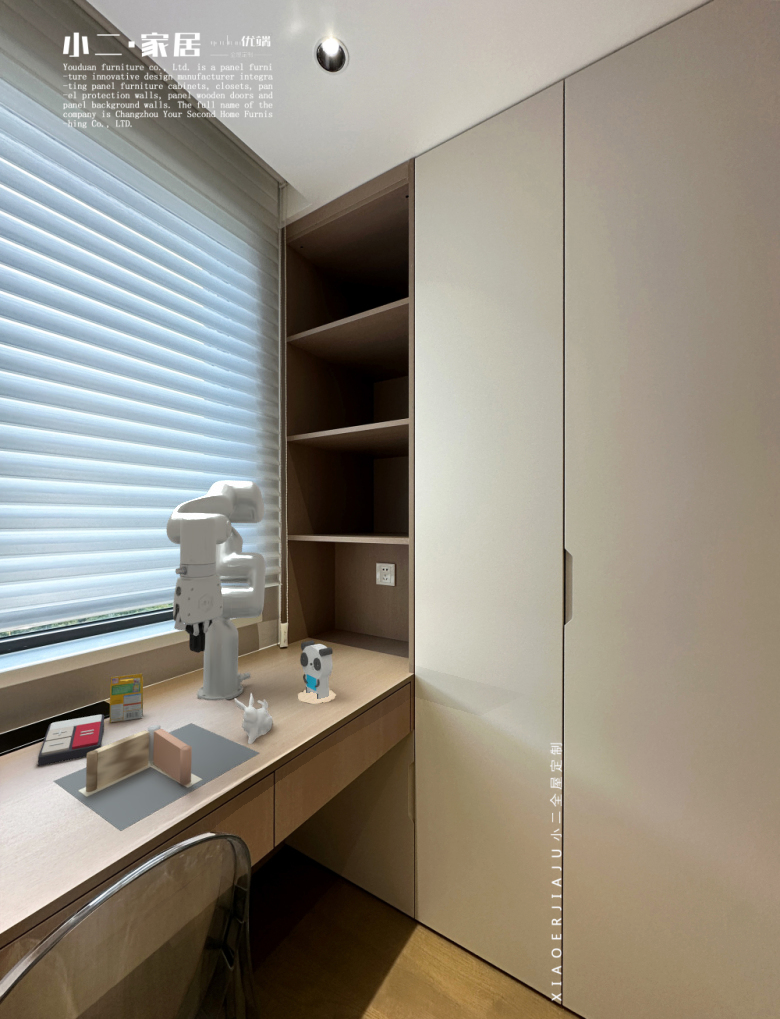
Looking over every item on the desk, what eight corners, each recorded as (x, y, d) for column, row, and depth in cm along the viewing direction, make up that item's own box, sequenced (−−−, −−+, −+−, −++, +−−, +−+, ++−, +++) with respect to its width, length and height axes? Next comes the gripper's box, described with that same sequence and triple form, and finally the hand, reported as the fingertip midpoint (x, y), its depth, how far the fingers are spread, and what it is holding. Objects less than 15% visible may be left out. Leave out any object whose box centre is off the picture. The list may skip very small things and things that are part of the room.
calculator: (37, 753, 95) (49, 720, 108) (37, 774, 95) (49, 738, 109) (100, 741, 101) (104, 711, 114) (100, 760, 101) (104, 728, 114)
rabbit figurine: (248, 750, 105) (249, 707, 105) (222, 743, 107) (222, 701, 108) (279, 728, 116) (280, 689, 116) (255, 722, 119) (255, 684, 119)
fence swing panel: (194, 781, 90) (194, 747, 90) (182, 786, 89) (182, 752, 89) (156, 754, 100) (157, 723, 100) (145, 758, 98) (145, 727, 98)
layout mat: (191, 725, 116) (191, 722, 116) (260, 755, 102) (260, 752, 102) (53, 784, 90) (53, 780, 90) (120, 834, 77) (120, 830, 77)
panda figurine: (288, 694, 136) (289, 643, 136) (320, 685, 144) (321, 636, 144) (310, 707, 127) (311, 653, 128) (343, 697, 135) (344, 645, 135)
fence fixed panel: (143, 763, 97) (144, 729, 97) (148, 765, 96) (149, 732, 96) (84, 790, 88) (84, 753, 88) (88, 793, 87) (89, 756, 87)
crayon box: (142, 713, 122) (143, 669, 122) (142, 718, 119) (143, 673, 119) (110, 718, 119) (111, 673, 119) (109, 723, 116) (110, 677, 116)
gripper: (178, 577, 96) (177, 664, 97) (236, 568, 109) (235, 645, 109) (156, 573, 100) (156, 656, 101) (215, 564, 113) (214, 639, 113)
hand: (197, 650), depth 105 cm, fingers closed
